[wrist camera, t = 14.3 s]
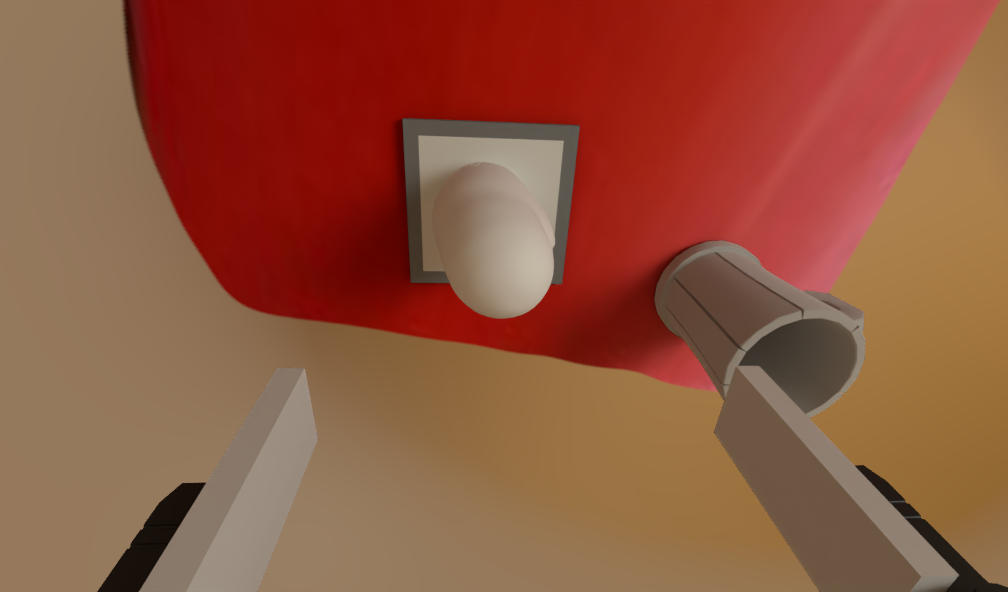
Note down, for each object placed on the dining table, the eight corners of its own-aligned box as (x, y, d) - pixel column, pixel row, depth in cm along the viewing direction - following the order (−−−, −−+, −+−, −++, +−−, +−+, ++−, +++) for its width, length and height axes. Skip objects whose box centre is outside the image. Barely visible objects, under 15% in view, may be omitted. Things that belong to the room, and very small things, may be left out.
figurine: (478, 273, 36) (483, 362, 25) (414, 196, 33) (389, 260, 22) (554, 220, 34) (593, 291, 24) (494, 134, 31) (508, 171, 21)
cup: (736, 200, 36) (852, 259, 25) (793, 273, 39) (917, 352, 28) (631, 291, 38) (695, 378, 28) (692, 351, 42) (771, 450, 31)
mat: (403, 118, 31) (402, 119, 31) (577, 125, 32) (579, 126, 32) (411, 279, 36) (410, 282, 36) (560, 280, 37) (562, 284, 37)
